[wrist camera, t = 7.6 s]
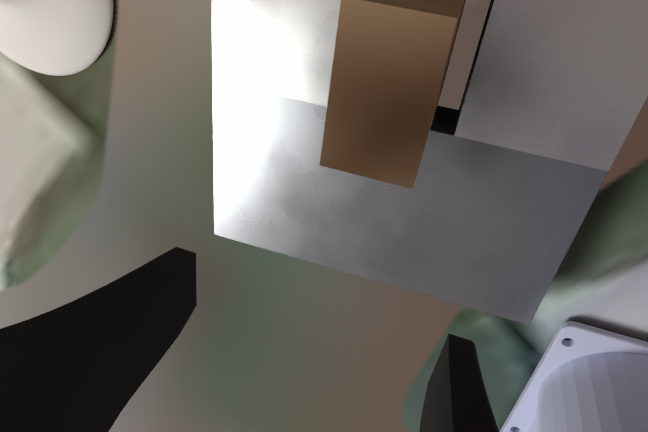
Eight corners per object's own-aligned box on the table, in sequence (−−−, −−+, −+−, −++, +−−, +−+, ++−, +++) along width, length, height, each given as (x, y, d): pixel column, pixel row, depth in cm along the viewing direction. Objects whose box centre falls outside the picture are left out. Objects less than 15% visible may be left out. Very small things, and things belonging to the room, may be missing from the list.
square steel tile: (526, 286, 22) (529, 325, 20) (237, 206, 24) (214, 234, 22) (742, -164, 13) (788, -175, 11) (246, -220, 15) (208, -239, 13)
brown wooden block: (442, 87, 18) (412, 189, 12) (380, 74, 19) (319, 165, 12) (473, -30, 16) (457, 18, 10) (402, -42, 17) (341, -4, 10)
